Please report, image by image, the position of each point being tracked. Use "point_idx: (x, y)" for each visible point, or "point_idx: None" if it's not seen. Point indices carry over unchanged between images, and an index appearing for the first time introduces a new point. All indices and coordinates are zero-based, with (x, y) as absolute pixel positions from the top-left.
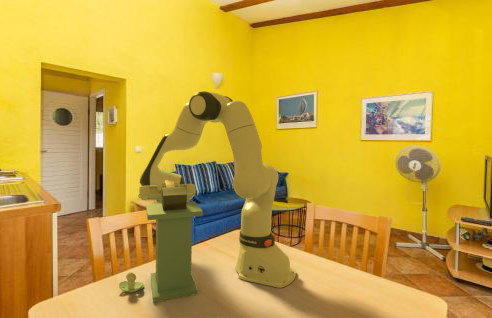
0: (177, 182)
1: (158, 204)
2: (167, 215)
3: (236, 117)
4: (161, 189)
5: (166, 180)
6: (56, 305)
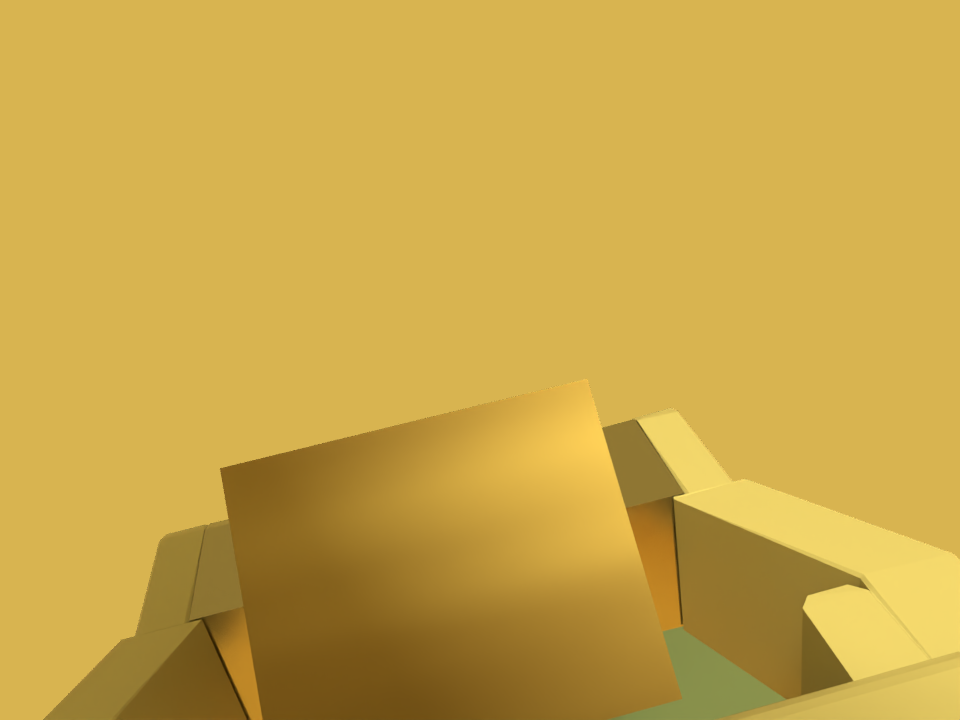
0: (188, 529)
1: (721, 701)
2: None
3: None
4: (734, 638)
5: (514, 412)
6: None
